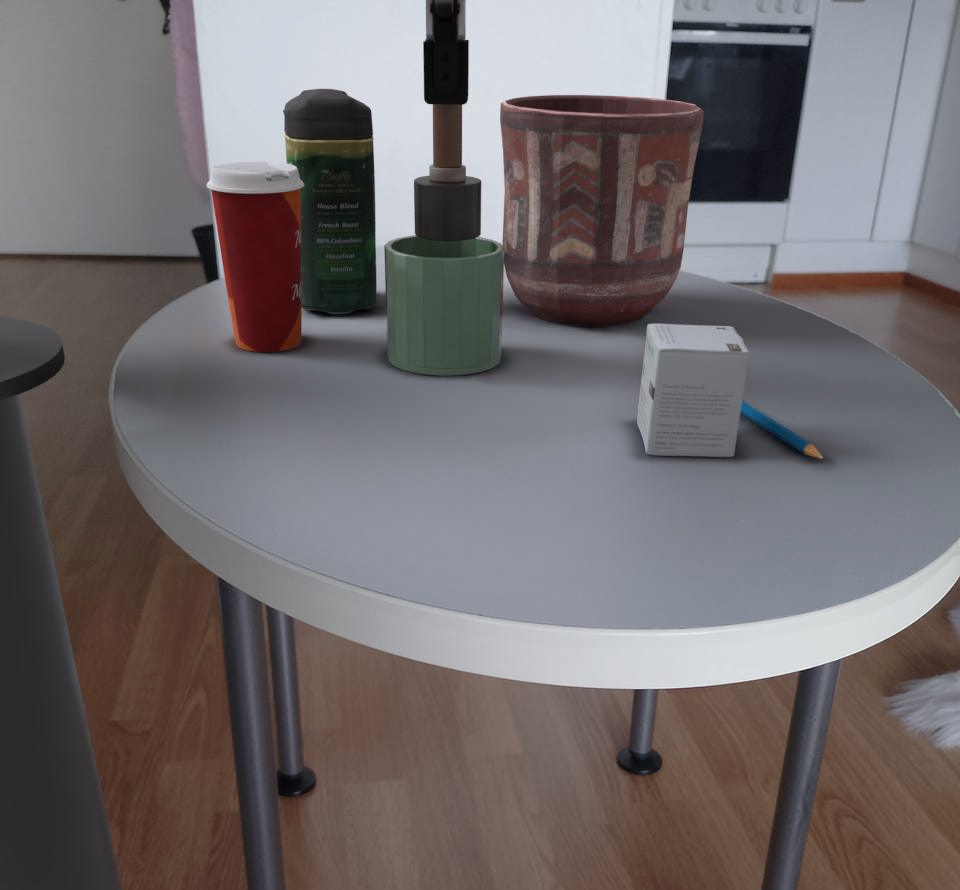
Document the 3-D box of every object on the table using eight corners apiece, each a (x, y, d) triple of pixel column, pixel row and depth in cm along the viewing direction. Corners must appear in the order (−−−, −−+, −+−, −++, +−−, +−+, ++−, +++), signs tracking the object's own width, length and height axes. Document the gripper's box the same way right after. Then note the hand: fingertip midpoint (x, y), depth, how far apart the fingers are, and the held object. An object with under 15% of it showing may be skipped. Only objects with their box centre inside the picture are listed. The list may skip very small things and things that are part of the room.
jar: (415, 381, 85) (414, 263, 81) (370, 349, 92) (366, 239, 88) (520, 367, 89) (525, 253, 84) (469, 337, 96) (470, 230, 92)
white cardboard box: (635, 425, 78) (645, 321, 74) (719, 426, 78) (734, 323, 74) (645, 457, 73) (657, 347, 69) (736, 458, 73) (752, 349, 69)
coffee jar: (383, 315, 102) (378, 94, 92) (298, 318, 100) (283, 94, 91) (371, 290, 110) (365, 84, 100) (292, 292, 108) (278, 84, 99)
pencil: (702, 383, 86) (703, 374, 85) (827, 462, 72) (829, 453, 72) (693, 384, 86) (694, 375, 85) (817, 464, 72) (819, 454, 72)
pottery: (509, 338, 96) (517, 113, 87) (483, 289, 111) (487, 93, 101) (703, 335, 98) (731, 115, 89) (652, 288, 113) (672, 95, 104)
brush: (431, 243, 83) (429, 16, 75) (404, 231, 87) (399, 14, 79) (492, 237, 85) (496, 16, 77) (462, 225, 89) (463, 14, 81)
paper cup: (331, 344, 93) (322, 169, 86) (255, 361, 89) (238, 178, 82) (279, 325, 98) (267, 157, 91) (205, 340, 94) (185, 165, 86)
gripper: (396, -195, 78) (402, 91, 88) (378, -231, 64) (388, 113, 74) (500, -193, 78) (495, 92, 88) (505, -229, 64) (498, 114, 74)
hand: (446, 99), depth 81 cm, fingers closed on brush
